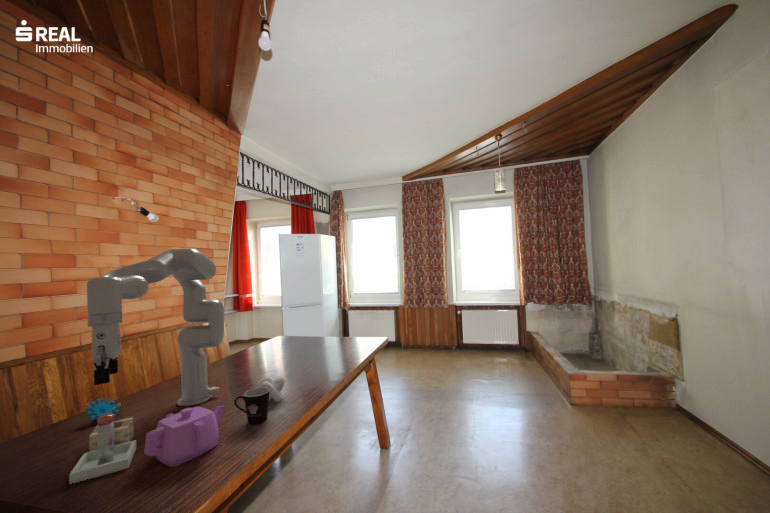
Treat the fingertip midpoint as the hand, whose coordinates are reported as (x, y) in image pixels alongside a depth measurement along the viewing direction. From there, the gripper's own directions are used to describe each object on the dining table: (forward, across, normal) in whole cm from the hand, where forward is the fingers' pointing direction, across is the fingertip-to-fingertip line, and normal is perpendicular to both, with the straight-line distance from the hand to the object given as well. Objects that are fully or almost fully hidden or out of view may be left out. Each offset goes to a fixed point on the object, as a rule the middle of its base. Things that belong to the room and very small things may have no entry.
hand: (106, 378), depth 91 cm
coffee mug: (+25, +3, -40) cm, 47 cm away
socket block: (+24, +12, +1) cm, 27 cm away
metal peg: (+23, -1, 0) cm, 23 cm away
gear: (+25, +40, +9) cm, 48 cm away
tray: (+24, -1, 0) cm, 24 cm away
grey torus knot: (+25, +18, -49) cm, 58 cm away
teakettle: (+24, -6, -20) cm, 32 cm away
